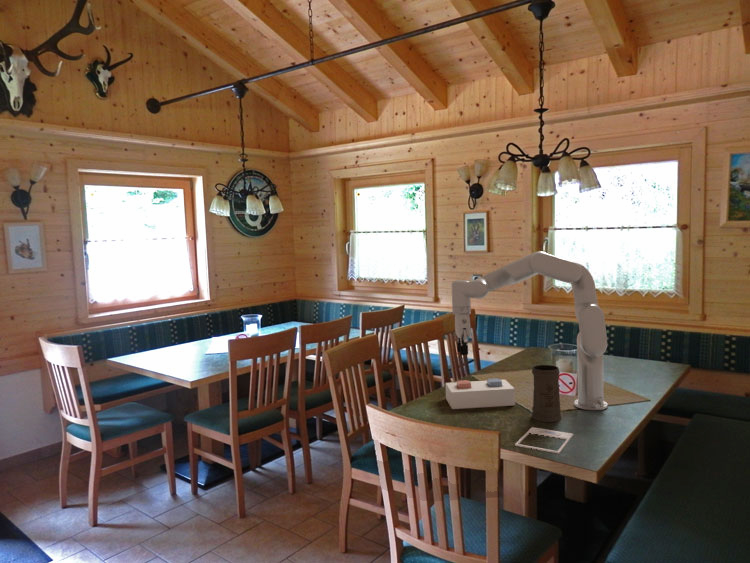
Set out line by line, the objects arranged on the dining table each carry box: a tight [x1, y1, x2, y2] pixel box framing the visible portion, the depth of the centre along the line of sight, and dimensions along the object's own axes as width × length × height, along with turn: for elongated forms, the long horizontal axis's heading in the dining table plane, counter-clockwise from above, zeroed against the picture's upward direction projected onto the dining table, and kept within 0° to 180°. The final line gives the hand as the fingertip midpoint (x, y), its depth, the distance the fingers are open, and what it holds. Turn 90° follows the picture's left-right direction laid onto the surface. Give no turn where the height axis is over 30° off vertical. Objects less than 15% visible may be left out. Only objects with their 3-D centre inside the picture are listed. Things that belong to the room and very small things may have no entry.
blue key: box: [486, 377, 502, 387], centre depth 237 cm, size 5×5×4 cm
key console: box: [445, 379, 516, 410], centre depth 237 cm, size 14×26×7 cm, turn 93°
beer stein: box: [531, 364, 562, 423], centre depth 216 cm, size 15×11×20 cm
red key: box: [456, 379, 471, 389], centre depth 236 cm, size 5×5×4 cm
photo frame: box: [514, 426, 574, 455], centre depth 193 cm, size 15×1×18 cm
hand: (462, 352), depth 235 cm, fingers open, 4 cm apart
